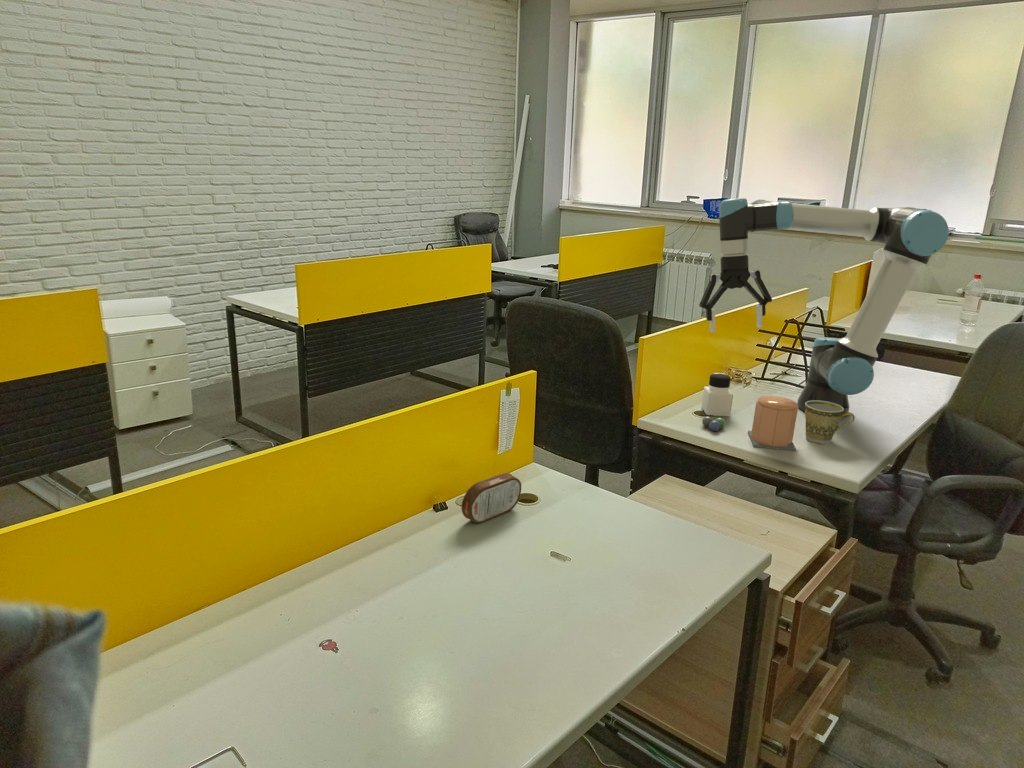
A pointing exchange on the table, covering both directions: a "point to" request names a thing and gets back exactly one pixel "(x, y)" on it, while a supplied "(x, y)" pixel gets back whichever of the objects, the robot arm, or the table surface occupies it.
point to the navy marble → (714, 425)
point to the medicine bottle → (717, 396)
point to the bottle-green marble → (720, 422)
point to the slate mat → (756, 444)
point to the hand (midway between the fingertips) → (736, 329)
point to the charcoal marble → (707, 421)
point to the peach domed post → (774, 421)
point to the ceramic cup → (823, 420)
